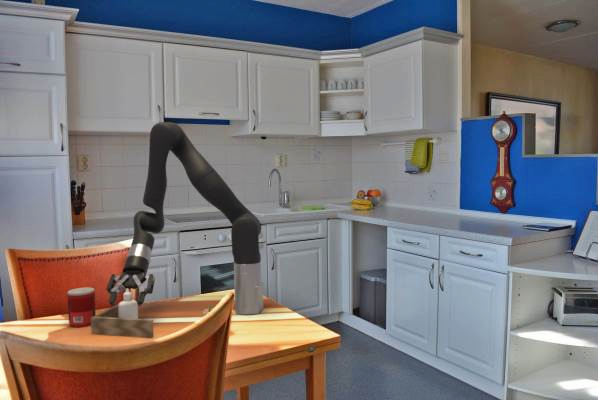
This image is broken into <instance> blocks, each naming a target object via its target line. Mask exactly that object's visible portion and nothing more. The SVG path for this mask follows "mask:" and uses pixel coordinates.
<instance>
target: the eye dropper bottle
mask: <svg viewBox="0 0 598 400" xmlns="http://www.w3.org/2000/svg"><path fill="white" fill-rule="evenodd" d="M132 296H133V295H132V292H130V289H125V292H124V293H123V294H122V297H123V300H122V301H120V302H119V303H118V304H117V305H118V315H119V318H129V319H139V312H138V311H139V309H138V307H139V306H138V304H137V300H136V299H133V297H132Z"/></svg>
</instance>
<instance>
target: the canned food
mask: <svg viewBox="0 0 598 400" xmlns="http://www.w3.org/2000/svg"><path fill="white" fill-rule="evenodd" d="M95 293H96V292H95V288H93V287H88V286H86V287H78V288H77V287H76V288H72V289H70V290H68V291H67V310H68V313H67V315H68V324H69V326H70V327H72V328H84V327H89V326H91V317H93V316H95V315H97V314H96V294H95Z"/></svg>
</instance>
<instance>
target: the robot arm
mask: <svg viewBox="0 0 598 400" xmlns="http://www.w3.org/2000/svg"><path fill="white" fill-rule="evenodd" d="M148 152H149V154H148V167H147V176H146V177H147V178H146V183H145V188H144V193H143V198H142V203H143V205H145V206H146V207H148V208H150V209H152V210H153V211H154V212H151V211H146V210H139V211H137V212H136V213H135V215H134V216H133V238H132V241H131V244H130V245H131V246H130V248H129V250H128V252H127V256H126V258H125V261H124V265H123V268H122V273H120V275H116V274H114V273H113V274H112V273H111V275H110V278H109V280H108V283H107V286H106V288H105V290H106V292H107V293H108V294H109V295H110V296H109V299H108V302H109V305H110V306H111V307H114V306H116V305H115V304H116V301H117V297H118V295H119V294H121V292H124V291H126V289H129V290H130V289H133V290H136V289H139V290H140V292H139V293H138V297H137V300H136V302H137V306H138V307H139V306H142V305H143V304H144V303H145V298H146V297H147V295H151V294H153V292H154V286H155V281H156V278H155V275H154V274H153V273H150V274H149V275H147V274H148V270H149V266H150V263H151V258H152V252H153V249H154V244H155V237H154V235H153V234H160V233H161V232H162V231H163V230H164V228H165V216H164V215H165V213H164V202H165V197H166V194H167V193H166V192H167V187H168V185H167V184H168V177H167V160H168V156H169V154H170V152H171V153H172V154H173V155H174V156H175V157H176V158H177V159H178V160H179V162H180V163H181V164H182V167H183V168H184V170H185V173H186V176H187V178H188V180H189V182H190V184H191V185H192V186H193V187H194V189H195V190H196V191H197V192H198V194H200V196H202V197H203V199H204V200H206V202H208V203H209V204H211V205H212V206H213V207H215V209H217V210H219V211H220V212H221V213H222V214H223V215H224V216H225V217H226V219H227V220H228V222H230V224H231V228H230V229H231V230H230V231H231V233H230V236H231V252H232V256H233V280H234V282H233V285H234V287H233V288H234V312H235V313H236V314H238V315H246V316H247V315H258V314H260V313H261V312H262V311H263V310H264V282H263V281H262V266H261V265H262V261H261V259H262V258H261V257H262V256H261V253H260V242H259V241H260V240H259V236H260V235H261V233H262V224H261V221H260V220H259V219H258V217H256V215H254V214H253V213H252V212H251V211H250V210H249V208H247V207H246V206H245V205H244V203H242V202H241V200H239V198H238V197H237V196H236V194H235V193H234V191H233V190H232V189H231V187H229V185H228V184H227V183H226V182H225V180H224V179H223V178H222V177H221V175H220V174H219V173H218V172H217V171H216V169H215V168H214V167H213V166H212V165H211V164H210V162H208V160H207V159H206V158H205V157H204V156H203V155H202V154H201V153H200V152H199V151H198V150H197V149H196V147H195V145H194V144H193V143H192V141H191V140H190V139H189V137H188V135H186V133H185V131H184V130H183V128H182V127H181V126H180V125H178V124H177V123H175V122H170V121H162V122H161V121H160V122H157V123H155V124H154V125H153V126H152V127H151V129H150V133H149V151H148ZM151 233H152V234H151ZM146 281H147V286H146V288H144V286H143V284H144V283H146Z"/></svg>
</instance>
